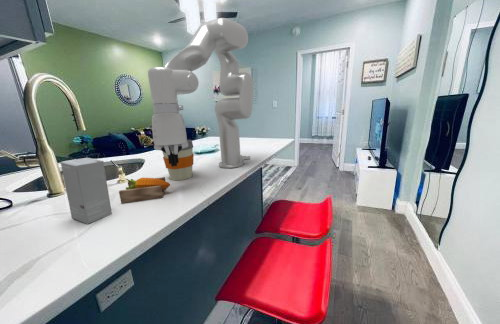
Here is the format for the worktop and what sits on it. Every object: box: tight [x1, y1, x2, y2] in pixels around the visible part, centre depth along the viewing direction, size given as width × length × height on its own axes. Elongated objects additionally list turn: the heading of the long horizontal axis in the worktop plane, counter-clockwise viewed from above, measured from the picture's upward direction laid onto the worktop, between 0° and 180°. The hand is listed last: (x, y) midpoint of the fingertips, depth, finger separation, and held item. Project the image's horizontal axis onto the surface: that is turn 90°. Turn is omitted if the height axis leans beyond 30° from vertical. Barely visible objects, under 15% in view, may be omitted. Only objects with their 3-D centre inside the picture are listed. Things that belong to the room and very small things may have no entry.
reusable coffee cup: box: [161, 139, 194, 181], centre depth 86 cm, size 13×13×15 cm
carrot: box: [125, 177, 171, 190], centre depth 70 cm, size 5×5×15 cm
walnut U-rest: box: [118, 176, 167, 205], centre depth 70 cm, size 12×10×4 cm
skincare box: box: [60, 157, 113, 225], centre depth 55 cm, size 8×7×16 cm
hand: (174, 165), depth 70 cm, fingers closed
